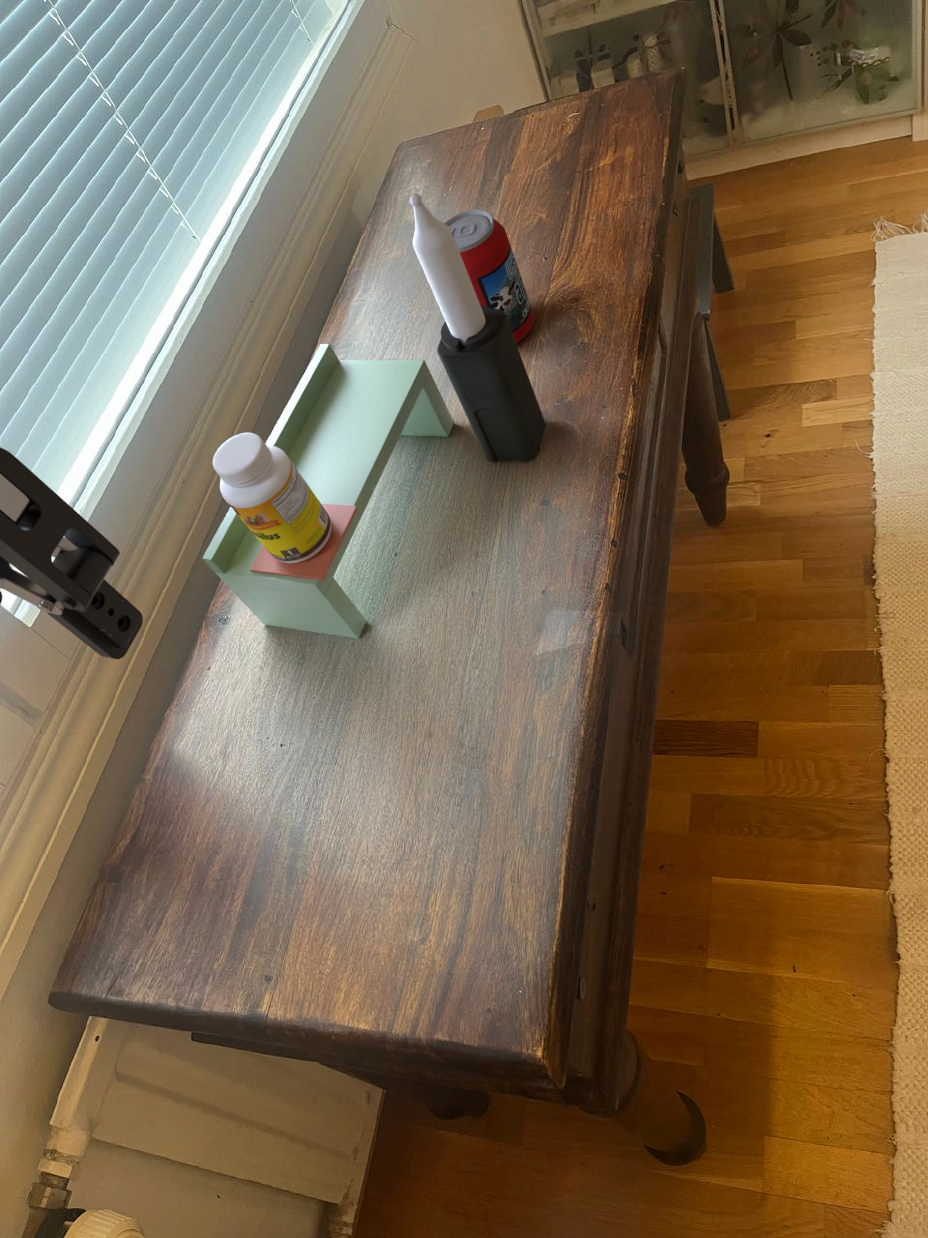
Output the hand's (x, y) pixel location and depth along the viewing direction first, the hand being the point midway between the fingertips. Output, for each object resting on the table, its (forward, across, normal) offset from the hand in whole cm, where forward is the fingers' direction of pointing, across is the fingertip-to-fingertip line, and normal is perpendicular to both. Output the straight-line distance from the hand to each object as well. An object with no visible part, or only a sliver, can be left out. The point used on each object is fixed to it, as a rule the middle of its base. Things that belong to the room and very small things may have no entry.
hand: (54, 626), depth 39 cm
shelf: (+33, -14, +30) cm, 47 cm away
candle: (+33, -2, +40) cm, 52 cm away
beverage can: (+33, -8, +54) cm, 64 cm away
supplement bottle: (+25, -12, +22) cm, 35 cm away
